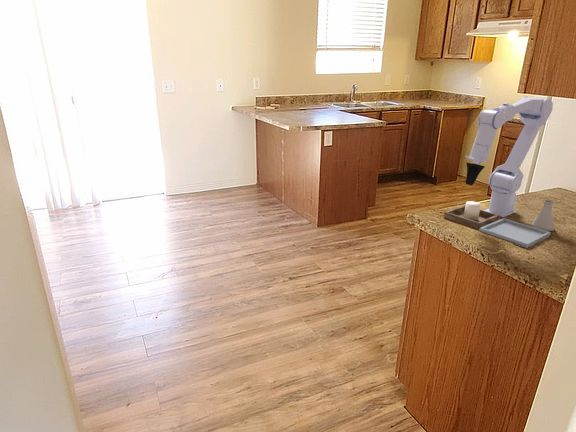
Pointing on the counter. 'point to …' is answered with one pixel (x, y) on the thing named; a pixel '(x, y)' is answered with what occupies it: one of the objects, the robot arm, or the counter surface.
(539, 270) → the counter surface
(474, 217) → the cream cylinder
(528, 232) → the slate tray
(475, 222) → the brown square tray
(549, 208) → the flask
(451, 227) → the counter surface
